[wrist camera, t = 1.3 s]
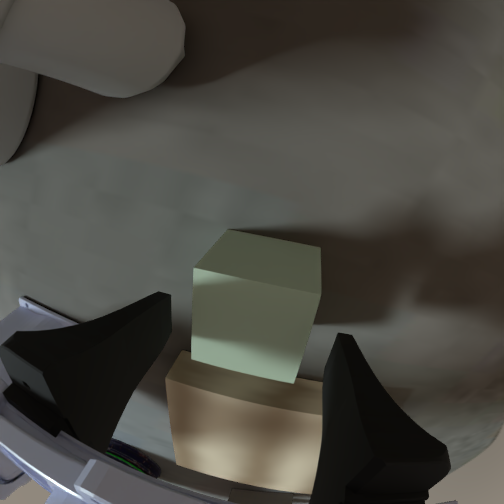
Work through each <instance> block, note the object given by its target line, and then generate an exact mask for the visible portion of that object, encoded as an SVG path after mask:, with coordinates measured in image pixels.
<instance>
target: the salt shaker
mask: <svg viewBox="0 0 504 504" xmlns="http://www.w3.org/2000/svg"><path fill="white" fill-rule="evenodd" d="M185 28H186V26H185V23H184V21H183V19H182V16H181V14H180V12H179V9H178V7H177V6H176V5H175V4H174V3H172V2H171V1H169V0H0V63H3V64H7V65H11V66H14V67H18V68H21V69H25V70H28V71H32V72H35V73H38V74H42V75H45V76H48V77H51V78H54V79H57V80H61V81H64V82H67V83H69V84H72V85H75V86H78V87H81V88H84V89H87V90H89V91H92V92H95V93H98V94H100V95H103V96H109V97H118V98H127V97H131V96H134V95H137V94H140V93H143V92H146V91H149V90H152V89H153V88H155V87H156V86H158V85H160V84H161V83H163V82H164V81H165V80H166V79H167V77H168V76H169V75H170V74H171V72H172V71H173V70H174V69H175V67H176V66H177V65H178V64H179V63H180V61H181V60H182V59H183V58H184V57H185V50H184V39H185Z"/></svg>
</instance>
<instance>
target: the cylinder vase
mask: <svg viewBox="0 0 504 504" xmlns="http://www.w3.org/2000/svg"><path fill="white" fill-rule="evenodd" d="M37 82H38V73H35V72H32V71H28V70H25V69H21V68H18V67H14V66H11V65H7V64H3V63H0V166H1V165H3V164H4V163H6V162H7V161H8V160H9V159H10V158H11V157H12V156H13V154H14V153H15V151H16V150H17V148H18V147H19V145H20V143H21V141H22V139H23V137H24V134H25V132H26V129H27V127H28V124H29V121H30V118H31V114H32V110H33V106H34V102H35V96H36V90H37Z"/></svg>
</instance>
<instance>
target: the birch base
mask: <svg viewBox="0 0 504 504" xmlns="http://www.w3.org/2000/svg"><path fill="white" fill-rule="evenodd" d="M165 382H166V392H167V401H168V409H169V417H170V425H171V432H172V439H173V446H174V452H175V458H176V464H177V465H179V466H182V467H185V468H188V469H191V470H195V471H198V472H201V473H205V474H208V475H212V476H215V477H219V478H223V479H227V480H231V481H235V482H239V483H244V484H248V485H253V486H258V487H264V488H269V489H275V490H281V491H288V492H296V493H304V494H312V490H313V486H314V481H315V476H316V471H317V466H318V460H319V454H320V447H321V440H322V386H323V382H318V381H312V380H307V379H301V378H295V381H294V384H293V383H287V382H282V381H277V380H272V379H268V378H263V377H259V376H254V375H250V374H246V373H241V372H237V371H233V370H229V369H225V368H221V367H218V366H214V365H210V364H207V363H203V362H200V361H196V360H193V359H191V352H188V351H184V350H182V351H181V352H180V354H179V356H178V357H177V359H176V361H175V362H174V364H173V366H172V367H171V369H170V371H169V372H168V374H167V376H166V377H165Z"/></svg>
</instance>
